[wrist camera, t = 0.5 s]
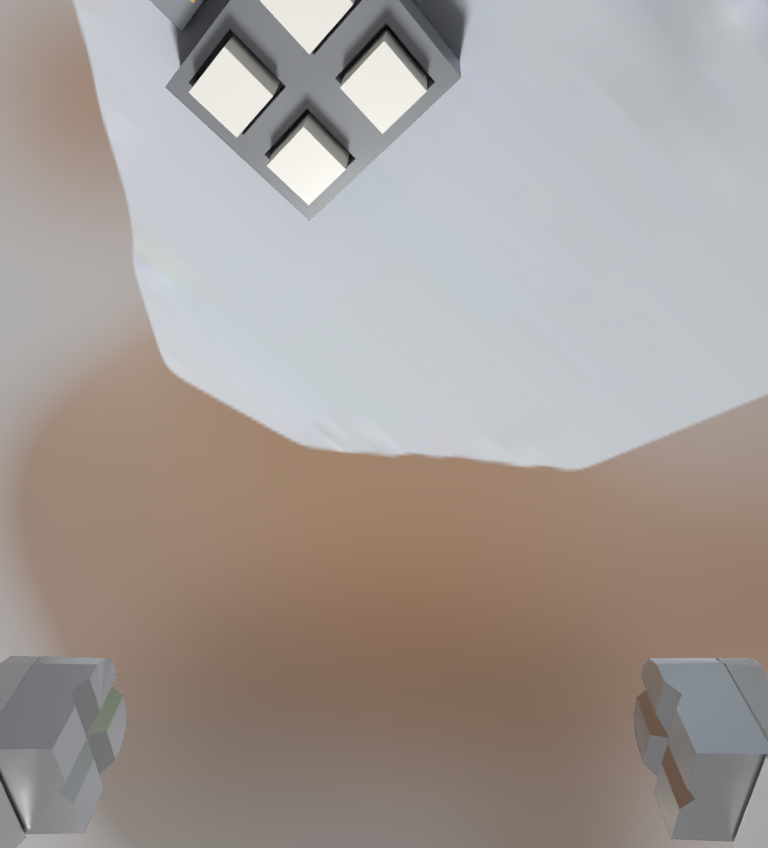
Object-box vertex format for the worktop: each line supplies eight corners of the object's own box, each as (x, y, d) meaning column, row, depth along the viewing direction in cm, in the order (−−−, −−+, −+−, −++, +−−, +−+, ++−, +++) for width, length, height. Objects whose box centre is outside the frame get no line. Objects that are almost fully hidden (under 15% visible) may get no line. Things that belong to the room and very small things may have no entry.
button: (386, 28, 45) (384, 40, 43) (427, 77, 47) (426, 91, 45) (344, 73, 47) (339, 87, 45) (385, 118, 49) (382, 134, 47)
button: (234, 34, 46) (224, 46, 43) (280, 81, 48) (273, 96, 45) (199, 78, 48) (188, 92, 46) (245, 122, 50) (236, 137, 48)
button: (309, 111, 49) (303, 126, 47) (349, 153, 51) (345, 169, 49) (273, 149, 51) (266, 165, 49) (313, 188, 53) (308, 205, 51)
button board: (320, -117, 42) (311, -109, 39) (459, 60, 49) (460, 77, 46) (180, 69, 50) (165, 86, 47) (316, 198, 57) (309, 220, 54)
